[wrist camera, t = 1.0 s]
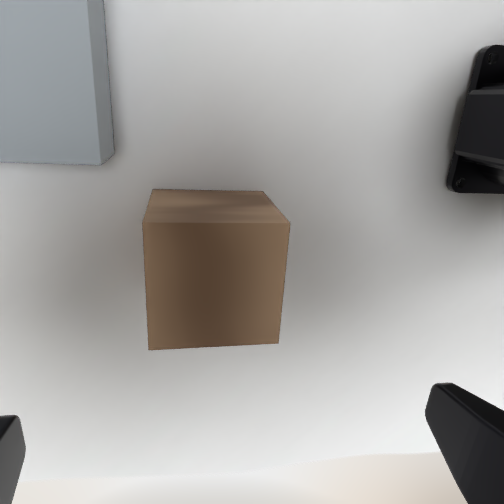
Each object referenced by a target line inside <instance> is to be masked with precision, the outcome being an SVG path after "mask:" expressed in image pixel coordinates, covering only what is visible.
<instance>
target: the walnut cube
mask: <svg viewBox="0 0 504 504" xmlns="http://www.w3.org/2000/svg"><path fill="white" fill-rule="evenodd" d="M142 225H143V245H144V266H145V286H146V307H147V327H148V347H149V350H162V349H181V348H200V347H219V346H238V345H257V344H276V343H278V342H279V332H280V322H281V312H282V302H283V292H284V282H285V272H286V262H287V252H288V241H289V231H290V222H289V221H288V220H287V219H286V218H285V216H284V215H283V214H282V213H281V212H280V211H279V209H278V208H277V207H276V206H275V205H274V204H273V202H272V201H271V200H270V199H269V198H268V197H267V195H266V194H265V193H264V192H263V191H222V190H171V189H153V190H152V193H151V196H150V199H149V203H148V206H147V209H146V212H145V216H144V219H143V222H142Z"/></svg>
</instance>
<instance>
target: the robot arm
mask: <svg viewBox="0 0 504 504" xmlns="http://www.w3.org/2000/svg"><path fill="white" fill-rule="evenodd" d="M490 53H491V55H492V59H491V62H490V63H489V62H488V56H489V54H490ZM459 178H460V183H459V184H458V185H457V186H456V182H457V180H458V179H459ZM447 187H448V189H449V190H451V191H454V192H457V193H494V194H504V46H503V45H492V46H486V47H484V48H483V49H482V50H481V51H480V52H479V54H478V56H477V59H476V63H475V67H474V71H473V75H472V79H471V84H470V88H469V92H468V96H467V99H466V103H465V107H464V111H463V115H462V119H461V123H460V128H459V132H458V136H457V140H456V144H455V148H454V153H453V157H452V162H451V166H450V170H449V174H448V178H447ZM425 416H426V420H427V423H428V425H429V427H430V429H431V431H432V433H433V435H434V437H435V439H436V442H437V444H438V446H439V448H440V450H441V452H442V454H443V456H444V458H445V461H446V463H447V465H448V467H449V469H450V471H451V473H452V475H453V477H454V479H455V481H456V483H457V485H458V487H459V489H460V491H461V492H462V494H463V496H464V498H465V499H466V501H467V503H468V504H504V411H503V410H501V409H499V408H498V407H496V406H494V405H492V404H490V403H488V402H487V401H485V400H483V399H481V398H479V397H477V396H475V395H474V394H472V393H470V392H468V391H466V390H464V389H463V388H461V387H459V386H457V385H455V384H453V383H437V384H434V385H433V386H432V388H431V392H430V395H429V399H428V402H427V405H426V409H425ZM25 451H26V446H25V441H24V436H23V431H22V427H21V422H20V419H19V417H18V416H17V415H4V416H0V504H11V503H12V500H13V496H14V493H15V489H16V486H17V483H18V479H19V476H20V472H21V469H22V465H23V462H24V458H25Z"/></svg>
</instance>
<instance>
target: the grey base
mask: <svg viewBox="0 0 504 504" xmlns="http://www.w3.org/2000/svg"><path fill="white" fill-rule="evenodd" d="M113 154H115V153H114V139H113V125H112V112H111V98H110V84H109V70H108V57H107V43H106V29H105V15H104V2H103V0H0V162H9V163H44V164H78V165H102V164H103V163H104V162H105V161H106V160H108V159H109V158H110V157H111V156H112V155H113Z"/></svg>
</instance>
